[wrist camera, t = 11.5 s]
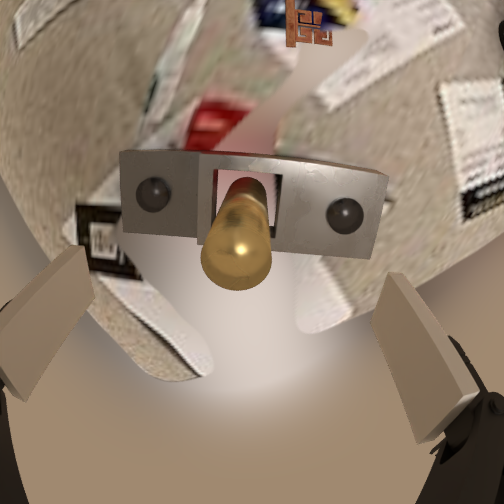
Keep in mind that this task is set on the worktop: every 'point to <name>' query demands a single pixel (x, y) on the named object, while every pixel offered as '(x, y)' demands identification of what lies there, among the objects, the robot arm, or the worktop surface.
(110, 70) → the worktop surface
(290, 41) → the key
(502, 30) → the aerosol can
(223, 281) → the brass pin
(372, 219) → the slotted metal plate
